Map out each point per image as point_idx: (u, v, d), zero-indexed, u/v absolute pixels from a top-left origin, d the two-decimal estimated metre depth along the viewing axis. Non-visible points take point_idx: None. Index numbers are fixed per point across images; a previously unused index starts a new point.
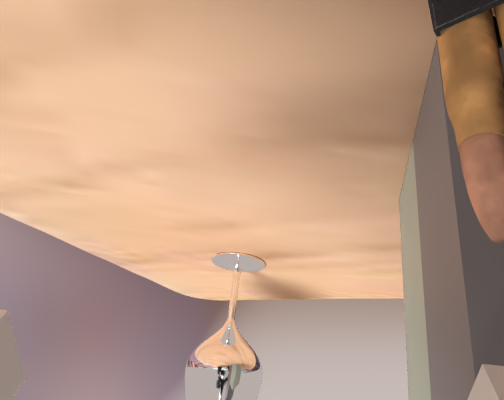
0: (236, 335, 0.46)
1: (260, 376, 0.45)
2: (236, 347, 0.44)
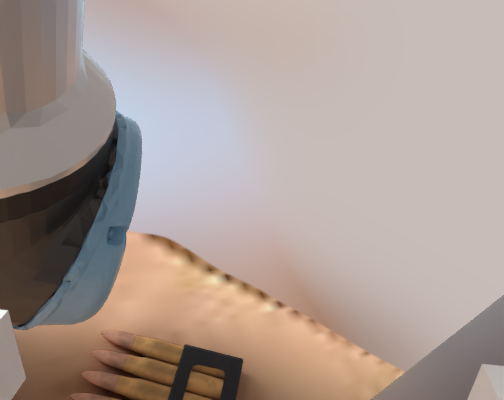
0: None
1: None
2: None
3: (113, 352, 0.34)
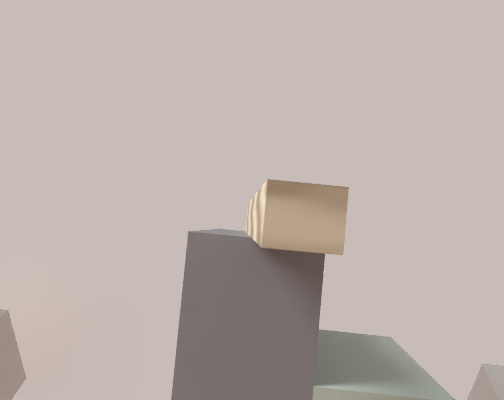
0: None
1: None
2: None
3: None
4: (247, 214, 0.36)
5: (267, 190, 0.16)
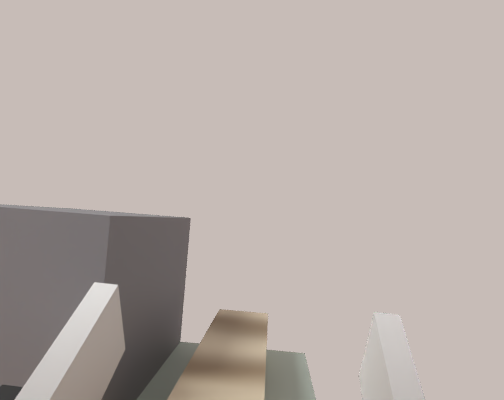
0: None
1: None
2: None
3: None
4: None
5: None
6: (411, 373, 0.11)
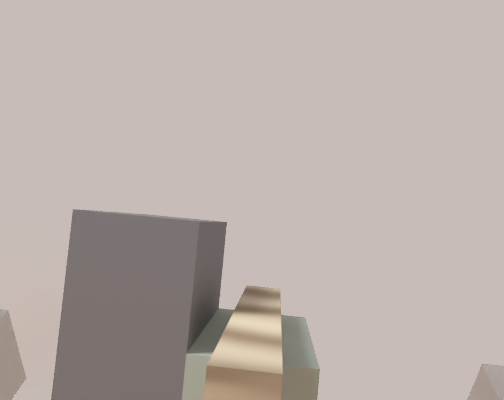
0: None
1: None
2: None
3: None
4: None
5: (206, 375, 0.17)
6: None
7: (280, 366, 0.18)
